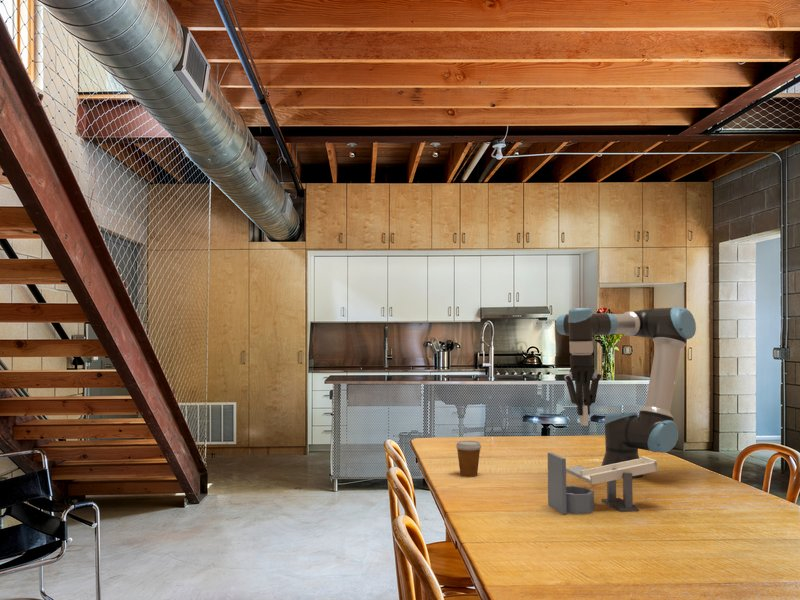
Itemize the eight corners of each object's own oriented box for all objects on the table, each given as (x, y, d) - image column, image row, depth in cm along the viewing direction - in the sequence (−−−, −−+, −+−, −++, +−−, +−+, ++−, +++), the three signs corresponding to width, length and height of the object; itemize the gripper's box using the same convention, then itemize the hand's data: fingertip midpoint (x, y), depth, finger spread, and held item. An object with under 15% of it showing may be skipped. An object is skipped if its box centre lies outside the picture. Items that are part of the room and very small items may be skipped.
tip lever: (626, 460, 207) (625, 450, 207) (658, 472, 189) (657, 460, 189) (566, 473, 202) (564, 462, 202) (593, 486, 185) (591, 474, 185)
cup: (582, 503, 194) (581, 451, 195) (599, 512, 183) (598, 457, 184) (547, 504, 191) (547, 452, 192) (563, 514, 181) (562, 459, 182)
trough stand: (619, 501, 196) (618, 465, 197) (638, 510, 185) (638, 473, 186) (601, 501, 195) (601, 466, 196) (620, 511, 184) (619, 474, 185)
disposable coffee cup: (480, 478, 226) (480, 445, 227) (454, 477, 228) (454, 444, 229) (482, 472, 236) (482, 440, 236) (457, 471, 238) (457, 440, 238)
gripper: (593, 352, 213) (596, 422, 212) (558, 354, 210) (560, 424, 209) (605, 353, 205) (608, 425, 204) (568, 355, 202) (571, 428, 202)
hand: (584, 425), depth 207 cm, fingers closed
